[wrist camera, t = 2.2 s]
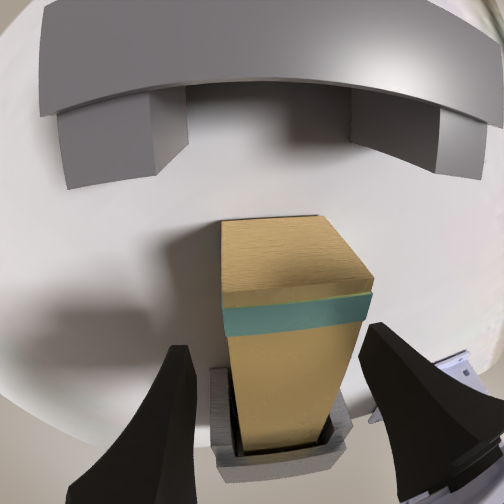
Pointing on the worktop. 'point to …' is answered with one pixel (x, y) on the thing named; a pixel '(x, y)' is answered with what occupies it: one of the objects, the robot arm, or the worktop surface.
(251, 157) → the worktop surface
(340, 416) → the sleeve
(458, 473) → the robot arm
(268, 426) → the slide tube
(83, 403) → the worktop surface
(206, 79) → the socket
